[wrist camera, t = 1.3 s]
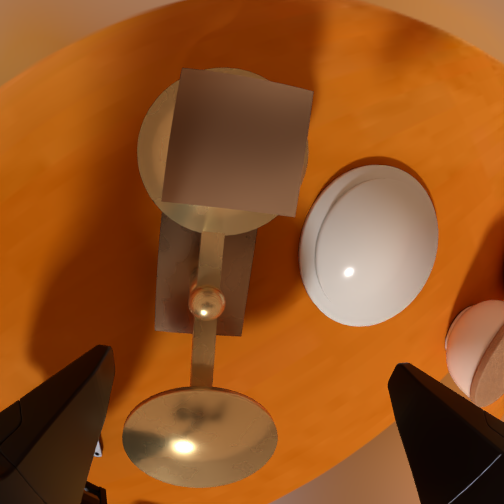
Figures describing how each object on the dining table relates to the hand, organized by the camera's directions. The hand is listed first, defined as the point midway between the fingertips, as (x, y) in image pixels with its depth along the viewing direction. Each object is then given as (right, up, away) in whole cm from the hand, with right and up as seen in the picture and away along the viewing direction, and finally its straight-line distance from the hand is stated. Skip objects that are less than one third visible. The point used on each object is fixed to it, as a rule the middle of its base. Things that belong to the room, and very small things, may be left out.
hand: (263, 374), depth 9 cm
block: (-2, +9, +7) cm, 11 cm away
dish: (+9, +4, +15) cm, 18 cm away
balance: (-4, +2, +13) cm, 14 cm away
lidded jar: (+23, -5, +20) cm, 31 cm away
